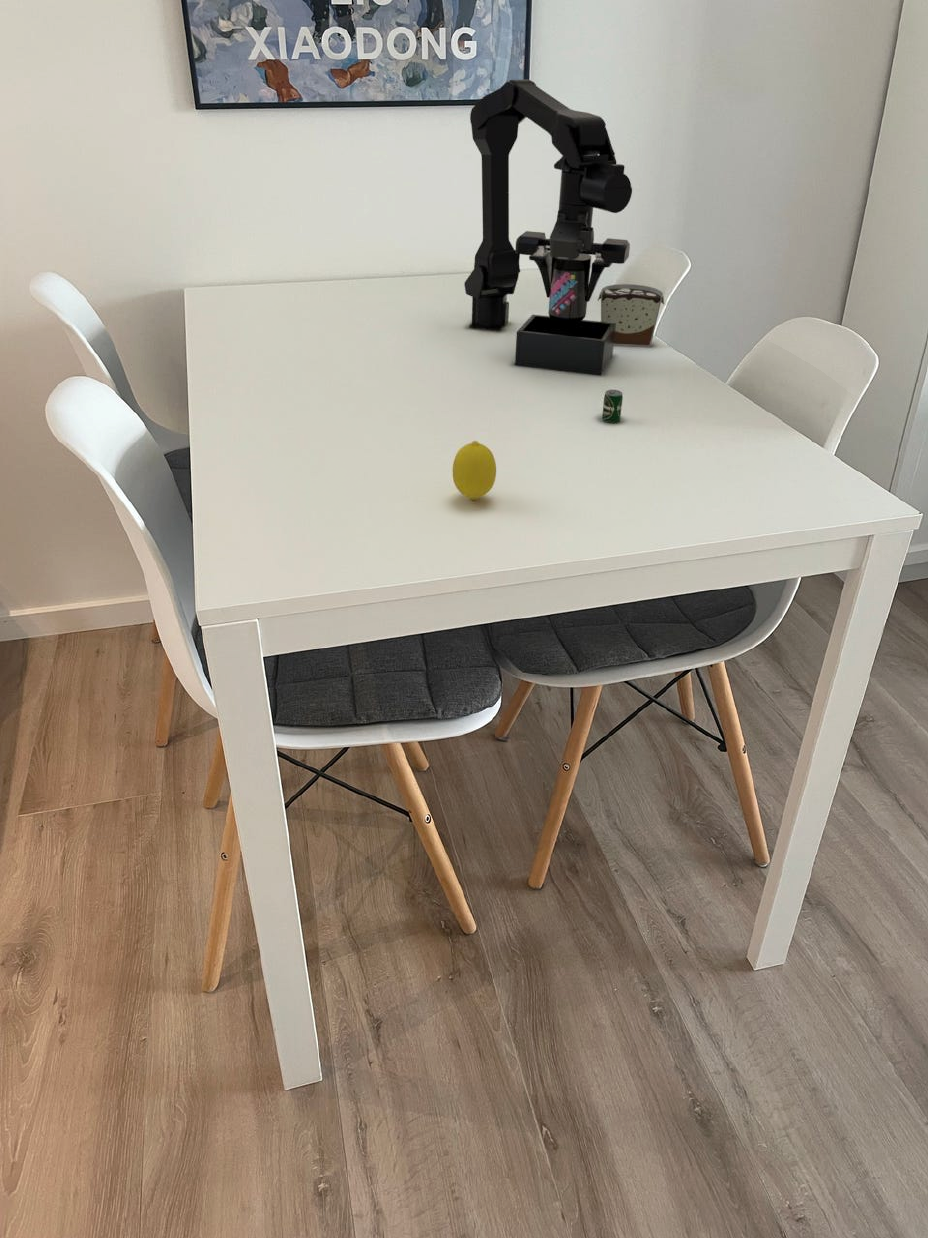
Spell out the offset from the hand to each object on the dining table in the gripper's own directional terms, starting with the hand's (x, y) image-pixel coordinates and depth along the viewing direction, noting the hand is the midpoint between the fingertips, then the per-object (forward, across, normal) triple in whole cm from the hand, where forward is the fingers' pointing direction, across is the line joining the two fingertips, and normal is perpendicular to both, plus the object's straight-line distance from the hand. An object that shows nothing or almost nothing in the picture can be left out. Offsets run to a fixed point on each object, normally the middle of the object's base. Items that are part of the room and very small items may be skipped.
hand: (568, 298), depth 160 cm
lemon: (+11, +1, -60) cm, 61 cm away
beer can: (+11, +13, -26) cm, 31 cm away
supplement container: (+3, 0, 0) cm, 3 cm away
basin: (+11, 0, 0) cm, 11 cm away
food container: (+11, +9, +16) cm, 21 cm away
